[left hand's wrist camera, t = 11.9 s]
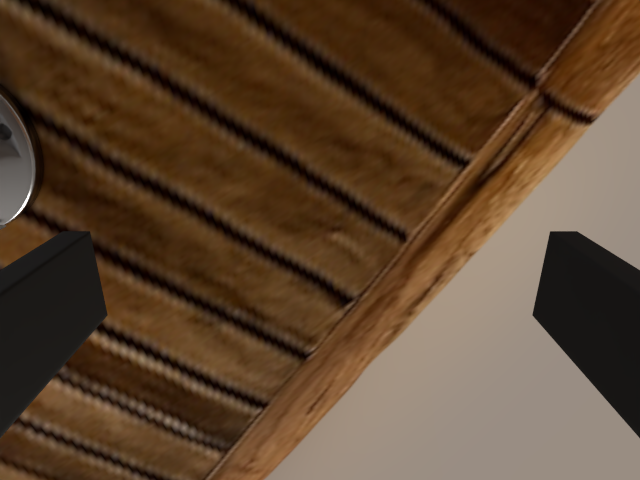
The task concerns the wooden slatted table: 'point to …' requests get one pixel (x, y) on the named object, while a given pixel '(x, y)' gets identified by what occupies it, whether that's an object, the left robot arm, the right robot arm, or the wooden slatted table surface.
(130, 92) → the wooden slatted table surface
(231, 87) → the wooden slatted table surface
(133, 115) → the wooden slatted table surface
